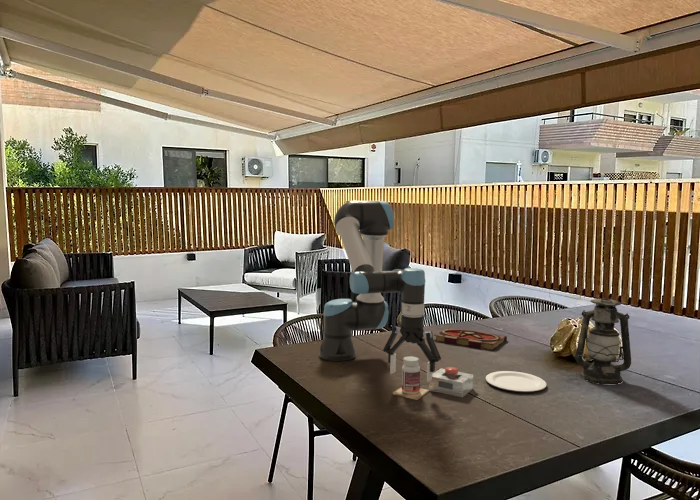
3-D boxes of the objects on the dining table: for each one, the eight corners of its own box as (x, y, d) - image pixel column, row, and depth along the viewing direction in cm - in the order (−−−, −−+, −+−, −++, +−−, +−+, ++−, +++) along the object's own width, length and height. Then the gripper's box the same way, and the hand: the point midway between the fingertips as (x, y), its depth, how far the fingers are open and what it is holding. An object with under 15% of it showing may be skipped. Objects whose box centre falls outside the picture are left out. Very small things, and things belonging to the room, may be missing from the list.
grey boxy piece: (428, 390, 179) (429, 376, 178) (440, 381, 187) (440, 368, 187) (462, 397, 172) (462, 383, 172) (472, 388, 181) (473, 374, 180)
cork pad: (392, 394, 175) (392, 392, 175) (404, 386, 182) (404, 384, 182) (417, 400, 170) (417, 398, 170) (428, 391, 177) (428, 390, 177)
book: (506, 342, 245) (507, 332, 244) (493, 352, 227) (493, 341, 226) (449, 334, 260) (449, 324, 259) (432, 342, 242) (432, 331, 241)
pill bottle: (423, 392, 175) (424, 359, 174) (409, 395, 172) (410, 362, 171) (411, 386, 180) (412, 354, 179) (397, 390, 177) (398, 357, 176)
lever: (442, 387, 179) (443, 369, 179) (447, 383, 183) (448, 366, 182) (454, 389, 177) (455, 371, 176) (459, 385, 181) (460, 368, 180)
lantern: (626, 375, 197) (631, 297, 194) (636, 392, 179) (641, 306, 176) (572, 369, 203) (576, 293, 200) (576, 385, 185) (581, 302, 182)
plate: (515, 399, 172) (515, 394, 172) (473, 380, 191) (473, 375, 191) (559, 389, 182) (559, 385, 182) (515, 372, 200) (515, 367, 200)
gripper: (374, 312, 177) (373, 372, 179) (443, 322, 164) (441, 387, 166) (385, 308, 183) (383, 366, 186) (452, 318, 170) (449, 380, 172)
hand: (410, 376), depth 176 cm, fingers open, 13 cm apart
